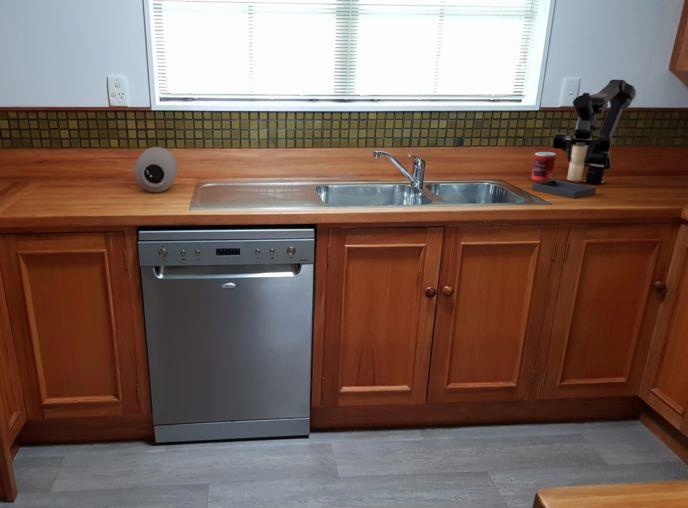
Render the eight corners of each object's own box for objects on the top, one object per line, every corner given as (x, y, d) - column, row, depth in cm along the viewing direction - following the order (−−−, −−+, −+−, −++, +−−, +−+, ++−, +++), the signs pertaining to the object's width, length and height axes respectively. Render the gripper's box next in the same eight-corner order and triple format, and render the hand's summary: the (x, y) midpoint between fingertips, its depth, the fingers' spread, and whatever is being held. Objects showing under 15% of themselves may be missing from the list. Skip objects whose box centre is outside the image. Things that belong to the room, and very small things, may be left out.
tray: (553, 185, 236) (554, 179, 235) (594, 193, 223) (596, 187, 222) (532, 189, 230) (533, 183, 229) (573, 198, 216) (575, 191, 215)
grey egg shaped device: (195, 172, 233) (180, 175, 209) (171, 201, 237) (154, 207, 212) (157, 138, 231) (138, 138, 207) (133, 168, 234) (112, 170, 210)
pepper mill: (571, 177, 222) (578, 141, 217) (584, 179, 218) (591, 143, 213) (564, 179, 219) (570, 142, 214) (576, 181, 216) (583, 144, 211)
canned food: (547, 179, 248) (552, 151, 244) (553, 183, 241) (558, 155, 237) (528, 178, 249) (532, 151, 245) (534, 182, 242) (538, 154, 238)
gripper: (558, 110, 217) (549, 145, 212) (616, 112, 209) (608, 149, 204) (557, 130, 226) (548, 164, 222) (612, 133, 218) (605, 169, 214)
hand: (576, 161), depth 215 cm, fingers closed on pepper mill, 5 cm apart
